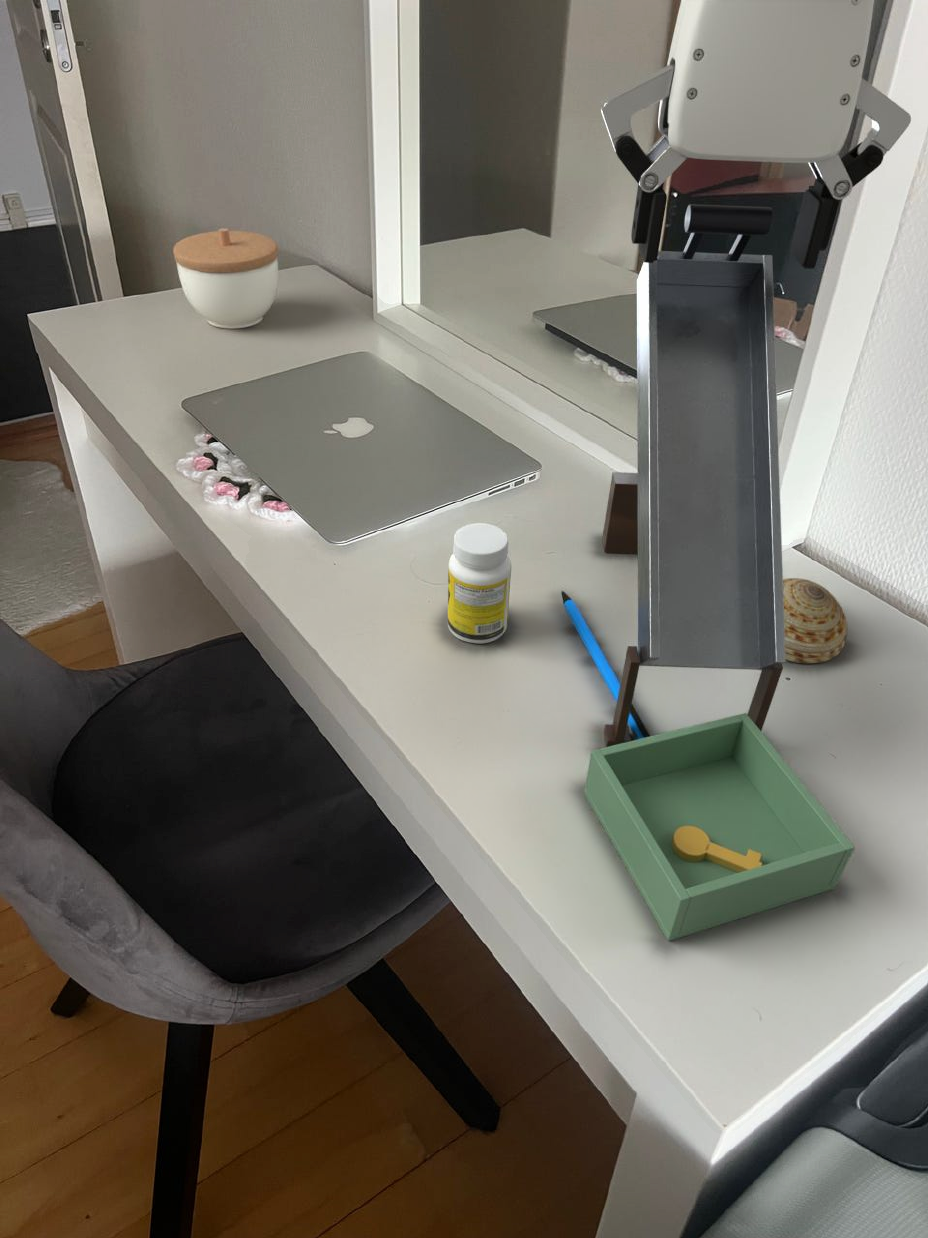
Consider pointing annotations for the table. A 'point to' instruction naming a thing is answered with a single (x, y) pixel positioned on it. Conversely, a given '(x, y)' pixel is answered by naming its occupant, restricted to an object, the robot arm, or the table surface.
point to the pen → (602, 664)
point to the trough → (709, 452)
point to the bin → (713, 823)
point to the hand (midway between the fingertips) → (724, 258)
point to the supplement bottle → (479, 583)
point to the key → (711, 850)
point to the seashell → (812, 622)
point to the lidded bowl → (228, 276)
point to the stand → (624, 539)
